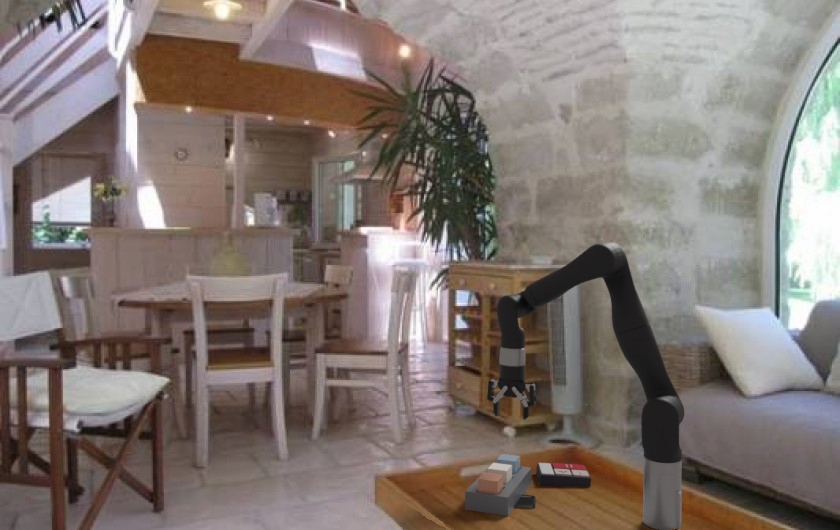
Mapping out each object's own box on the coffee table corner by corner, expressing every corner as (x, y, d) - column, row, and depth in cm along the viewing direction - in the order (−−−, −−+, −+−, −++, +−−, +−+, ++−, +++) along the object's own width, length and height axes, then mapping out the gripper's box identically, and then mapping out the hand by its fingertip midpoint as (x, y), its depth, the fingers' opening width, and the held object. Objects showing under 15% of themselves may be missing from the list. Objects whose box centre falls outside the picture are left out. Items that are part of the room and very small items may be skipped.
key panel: (531, 484, 212) (531, 467, 212) (508, 516, 188) (508, 497, 188) (492, 478, 217) (492, 462, 216) (465, 509, 193) (465, 491, 192)
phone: (482, 492, 203) (535, 495, 201) (482, 496, 203) (535, 499, 201) (480, 502, 195) (535, 506, 193) (480, 506, 195) (535, 510, 193)
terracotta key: (503, 488, 195) (503, 474, 195) (497, 495, 190) (497, 481, 190) (483, 486, 197) (483, 472, 197) (477, 492, 192) (477, 478, 192)
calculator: (591, 475, 209) (540, 472, 210) (590, 490, 210) (539, 486, 211) (585, 463, 220) (536, 460, 221) (584, 477, 221) (536, 474, 222)
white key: (512, 478, 204) (512, 465, 203) (506, 484, 198) (506, 471, 198) (493, 475, 206) (493, 462, 206) (487, 482, 201) (487, 468, 200)
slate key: (520, 468, 212) (520, 455, 212) (515, 474, 207) (515, 461, 207) (501, 466, 214) (501, 453, 214) (496, 472, 209) (496, 459, 209)
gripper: (539, 362, 208) (538, 417, 209) (493, 358, 214) (492, 411, 215) (532, 367, 201) (531, 423, 202) (485, 362, 207) (483, 417, 208)
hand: (511, 417), depth 208 cm, fingers open, 8 cm apart
